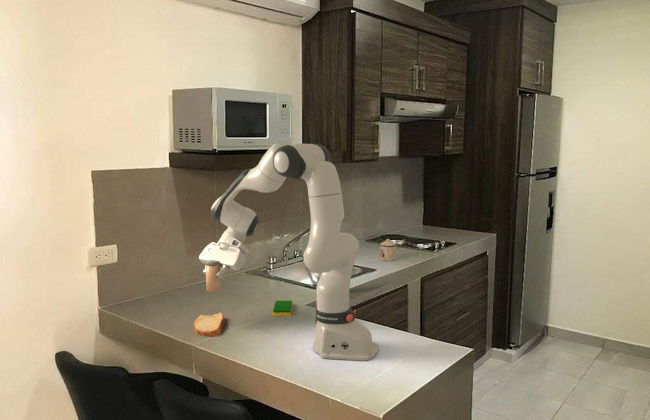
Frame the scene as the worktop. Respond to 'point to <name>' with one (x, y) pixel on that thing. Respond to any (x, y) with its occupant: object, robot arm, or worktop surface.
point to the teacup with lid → (387, 250)
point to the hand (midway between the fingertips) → (211, 275)
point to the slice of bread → (209, 325)
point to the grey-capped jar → (212, 275)
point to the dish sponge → (282, 308)
